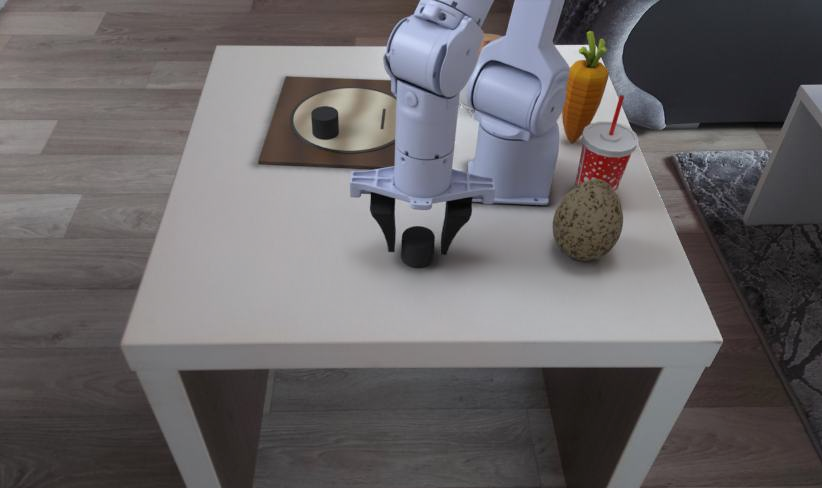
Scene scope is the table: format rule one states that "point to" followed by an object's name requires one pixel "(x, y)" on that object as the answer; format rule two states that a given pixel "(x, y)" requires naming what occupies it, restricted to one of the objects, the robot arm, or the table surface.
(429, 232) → the eye puck
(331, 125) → the eye puck
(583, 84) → the carrot
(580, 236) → the decorative egg
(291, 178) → the table surface
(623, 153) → the beverage cup
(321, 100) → the face board
